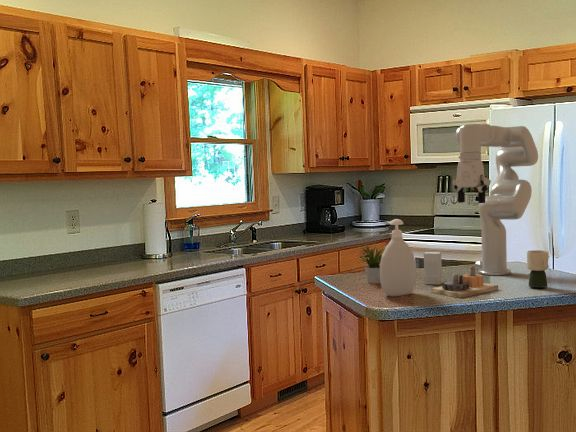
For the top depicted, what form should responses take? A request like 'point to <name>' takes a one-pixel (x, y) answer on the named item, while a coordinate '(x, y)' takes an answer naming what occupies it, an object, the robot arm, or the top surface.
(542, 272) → the character mug
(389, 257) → the soap bottle
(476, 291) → the gear board
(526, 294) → the top surface
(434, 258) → the skincare box
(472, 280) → the loose gear
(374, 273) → the house plant
